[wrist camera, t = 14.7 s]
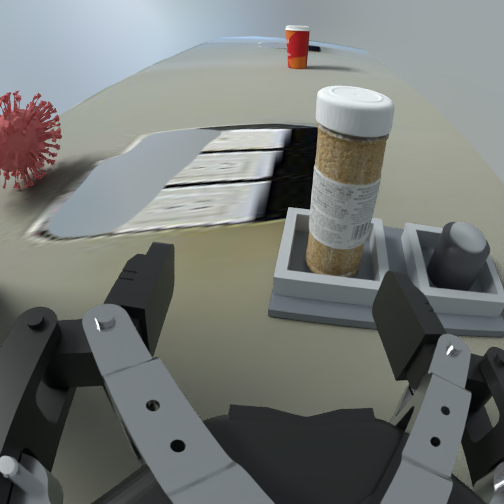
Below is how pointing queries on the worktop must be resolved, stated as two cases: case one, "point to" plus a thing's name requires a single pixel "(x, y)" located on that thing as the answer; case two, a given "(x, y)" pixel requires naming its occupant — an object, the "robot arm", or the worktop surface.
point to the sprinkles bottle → (346, 176)
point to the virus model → (26, 139)
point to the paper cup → (297, 46)
